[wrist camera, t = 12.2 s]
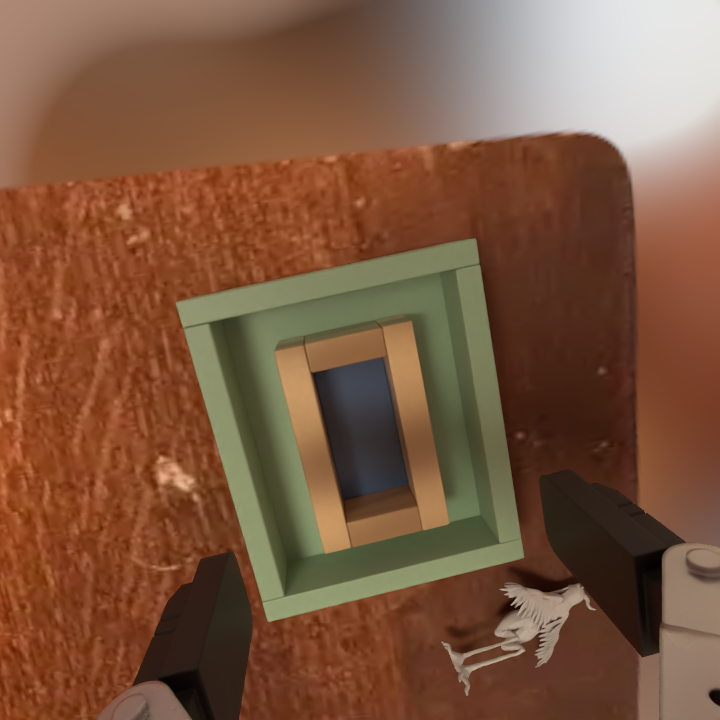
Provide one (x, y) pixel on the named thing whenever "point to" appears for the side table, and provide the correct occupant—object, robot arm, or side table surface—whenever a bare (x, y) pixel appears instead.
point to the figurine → (526, 624)
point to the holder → (278, 444)
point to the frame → (363, 431)
